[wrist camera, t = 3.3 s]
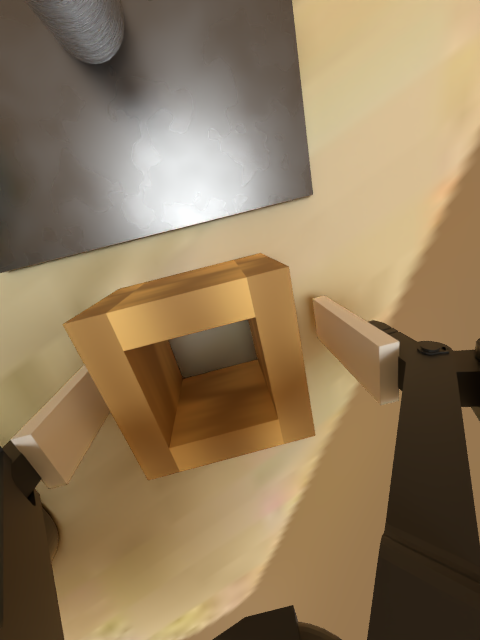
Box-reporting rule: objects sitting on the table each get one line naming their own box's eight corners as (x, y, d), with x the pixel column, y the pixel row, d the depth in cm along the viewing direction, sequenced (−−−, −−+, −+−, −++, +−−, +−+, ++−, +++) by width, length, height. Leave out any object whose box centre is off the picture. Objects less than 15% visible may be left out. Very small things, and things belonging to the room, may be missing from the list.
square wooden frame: (168, 403, 18) (147, 480, 13) (118, 289, 15) (62, 324, 9) (283, 372, 18) (315, 435, 13) (260, 253, 15) (288, 266, 9)
